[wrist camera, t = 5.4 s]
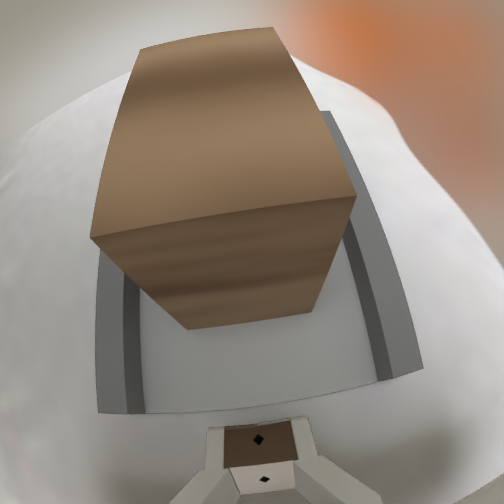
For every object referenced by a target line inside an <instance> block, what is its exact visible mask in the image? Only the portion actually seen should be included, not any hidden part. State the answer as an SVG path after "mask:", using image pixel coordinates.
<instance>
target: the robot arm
mask: <svg viewBox="0 0 504 504" xmlns="http://www.w3.org/2000/svg"><path fill="white" fill-rule="evenodd" d="M295 488H296V490H297V491H298V492H299V493H300V494H301V495H302V496H303V497H304V498H305V499H306V500H307V501H308V502H309V503H310V504H383V501H382V499H381V496H380V494H379V493H377V492H376V491H374V490H372V489H371V488H369V487H368V486H366V485H365V484H363V483H362V482H360V481H359V480H357V479H356V478H354V477H353V476H351V475H350V474H349V473H347V472H346V471H344V470H343V469H341V468H340V467H339V466H337V465H336V464H334V463H333V462H332V461H330V460H329V459H328V458H326V457H325V456H323V455H322V456H318V454H317V450H316V446H315V442H314V438H313V435H312V431H311V427H310V423H309V419H308V417H307V416H306V415H305V416H300V417H294V418H287V419H281V420H275V421H269V422H262V423H257V424H249V425H237V426H224V427H209V428H208V430H207V437H206V451H205V466H204V470H199V471H198V472H197V473H196V474H195V475H194V477H193V478H192V479H191V480H190V481H189V482H188V483H187V484H186V485H185V486H184V488H183V489H182V490H181V491H180V492H179V493H178V494H177V495H176V496H175V497H174V498H173V499H172V500H171V501H170V502H169V504H236V503H237V501H238V500H239V498H240V497H241V496H240V495H245V494H254V493H262V492H270V491H279V490H287V489H295ZM454 504H504V473H503V474H501V475H500V476H499V477H497V478H496V479H494V480H493V481H491V482H489V483H488V484H486V485H485V486H483V487H482V488H480V489H478V490H477V491H475V492H473V493H472V494H470V495H468V496H466V497H465V498H463V499H461V500H459V501H457V502H456V503H454Z"/></svg>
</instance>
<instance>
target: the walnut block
mask: <svg viewBox="0 0 504 504" xmlns="http://www.w3.org/2000/svg"><path fill="white" fill-rule="evenodd" d="M356 197H357V194H356V191H355V189H354V186H353V184H352V182H351V179H350V177H349V174H348V172H347V170H346V167H345V165H344V162H343V160H342V158H341V156H340V153H339V151H338V149H337V147H336V144H335V142H334V140H333V138H332V136H331V134H330V131H329V129H328V127H327V125H326V123H325V121H324V119H323V117H322V115H321V113H320V111H319V109H318V107H317V105H316V103H315V101H314V99H313V97H312V95H311V93H310V91H309V89H308V87H307V85H306V84H305V82H304V80H303V78H302V76H301V74H300V73H299V71H298V69H297V67H296V65H295V64H294V62H293V60H292V58H291V57H290V55H289V53H288V51H287V50H286V48H285V46H284V45H283V43H282V42H281V40H280V38H279V36H278V35H277V33H276V31H275V30H274V28H273V27H267V28H254V29H244V30H235V31H227V32H220V33H214V34H207V35H201V36H196V37H191V38H186V39H181V40H176V41H172V42H167V43H163V44H159V45H155V46H151V47H147V48H144V49H141V50H140V52H139V55H138V57H137V60H136V62H135V65H134V67H133V70H132V73H131V75H130V78H129V81H128V84H127V86H126V89H125V92H124V95H123V98H122V101H121V104H120V107H119V111H118V114H117V117H116V120H115V124H114V127H113V131H112V134H111V138H110V141H109V145H108V149H107V153H106V157H105V161H104V165H103V169H102V174H101V178H100V183H99V188H98V193H97V198H96V203H95V208H94V214H93V220H92V226H91V233H90V238H91V239H92V240H93V241H94V243H95V244H96V245H97V246H98V247H99V248H100V249H101V250H102V251H103V252H104V253H105V254H106V255H107V256H108V257H109V258H110V259H111V260H112V261H113V262H114V263H115V264H116V265H117V266H118V267H119V268H120V269H121V270H122V271H123V272H124V273H125V274H126V275H127V276H128V277H129V278H130V279H131V280H132V281H133V282H135V283H136V284H137V285H138V286H139V287H140V288H141V289H142V290H143V291H144V292H145V293H146V294H147V295H148V296H149V297H151V298H152V299H153V300H154V301H155V302H156V303H157V304H158V305H159V306H160V307H162V308H163V309H164V310H165V311H166V312H167V313H168V314H169V315H171V316H172V317H173V318H174V319H175V320H176V321H177V322H179V323H180V324H181V325H182V326H183V327H184V328H185V329H187V330H193V329H202V328H210V327H218V326H226V325H233V324H241V323H248V322H255V321H262V320H268V319H275V318H281V317H287V316H293V315H299V314H305V313H310V312H312V310H313V308H314V306H315V303H316V301H317V299H318V296H319V294H320V291H321V289H322V287H323V284H324V282H325V279H326V277H327V274H328V272H329V270H330V267H331V265H332V262H333V259H334V257H335V254H336V252H337V249H338V247H339V244H340V241H341V239H342V236H343V233H344V231H345V228H346V225H347V223H348V220H349V217H350V214H351V212H352V209H353V206H354V203H355V200H356Z"/></svg>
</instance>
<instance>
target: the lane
mask: <svg viewBox="0 0 504 504" xmlns="http://www.w3.org/2000/svg"><path fill="white" fill-rule="evenodd" d="M320 113H321V115H322V117H323V119H324V121H325V123H326V125H327V127H328V129H329V131H330V134H331V136H332V138H333V140H334V142H335V144H336V147H337V149H338V151H339V153H340V156H341V158H342V160H343V162H344V165H345V167H346V170H347V172H348V174H349V177H350V179H351V182H352V184H353V186H354V189H355V191H356V194H357V197H356V200H355V203H354V206H353V209H352V212H351V214H350V217H349V220H348V223H347V225H346V228H345V231H344V233H343V236H342V239H341V241H340V244H339V247H338V249H337V252H336V254H335V257H334V259H333V262H332V265H331V267H330V270H329V272H328V274H327V277H326V279H325V282H324V284H323V287H322V289H321V291H320V294H319V296H318V299H317V301H316V303H315V306H314V308H313V310H312V312H310V313H305V314H299V315H293V316H287V317H281V318H275V319H268V320H262V321H255V322H248V323H241V324H233V325H226V326H218V327H210V328H202V329H193V330H187V329H185V328H184V327H183V326H182V325H181V324H180V323H179V322H177V321H176V320H175V319H174V318H173V317H172V316H171V315H169V314H168V313H167V312H166V311H165V310H164V309H163V308H162V307H160V306H159V305H158V304H157V303H156V302H155V301H154V300H153V299H152V298H151V297H149V296H148V295H147V294H146V293H145V292H144V291H143V290H142V289H141V288H140V287H139V286H138V285H137V284H136V283H135V282H133V281H132V280H131V279H130V278H129V277H128V276H127V275H126V274H125V273H124V272H123V271H122V270H121V269H120V268H119V267H118V266H117V265H116V264H115V263H114V262H113V261H112V260H111V259H110V258H109V257H108V256H107V255H106V254H105V253H104V252H103V251H102V250H101V249H100V257H99V268H98V280H97V296H96V319H95V367H96V390H97V405H98V413H107V414H145V413H187V412H204V411H217V410H228V409H238V408H247V407H255V406H262V405H269V404H276V403H283V402H289V401H294V400H300V399H305V398H311V397H316V396H321V395H325V394H330V393H334V392H339V391H343V390H347V389H351V388H355V387H359V386H363V385H367V384H371V383H374V382H378V381H383V380H388V379H392V378H396V377H399V376H402V375H405V374H408V373H411V372H414V371H417V370H420V369H423V363H422V359H421V354H420V350H419V346H418V341H417V337H416V333H415V329H414V325H413V322H412V318H411V314H410V310H409V307H408V303H407V300H406V296H405V293H404V290H403V286H402V283H401V280H400V277H399V274H398V271H397V267H396V264H395V261H394V258H393V256H392V253H391V250H390V247H389V244H388V241H387V239H386V236H385V233H384V230H383V228H382V225H381V222H380V220H379V217H378V215H377V212H376V210H375V207H374V205H373V202H372V200H371V197H370V195H369V192H368V190H367V188H366V185H365V183H364V181H363V178H362V176H361V174H360V172H359V169H358V167H357V165H356V163H355V161H354V158H353V156H352V154H351V152H350V150H349V148H348V146H347V144H346V142H345V140H344V137H343V135H342V133H341V131H340V129H339V127H338V125H337V124H336V122H335V120H334V118H333V116H332V114H331V112H330V111H320Z"/></svg>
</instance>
